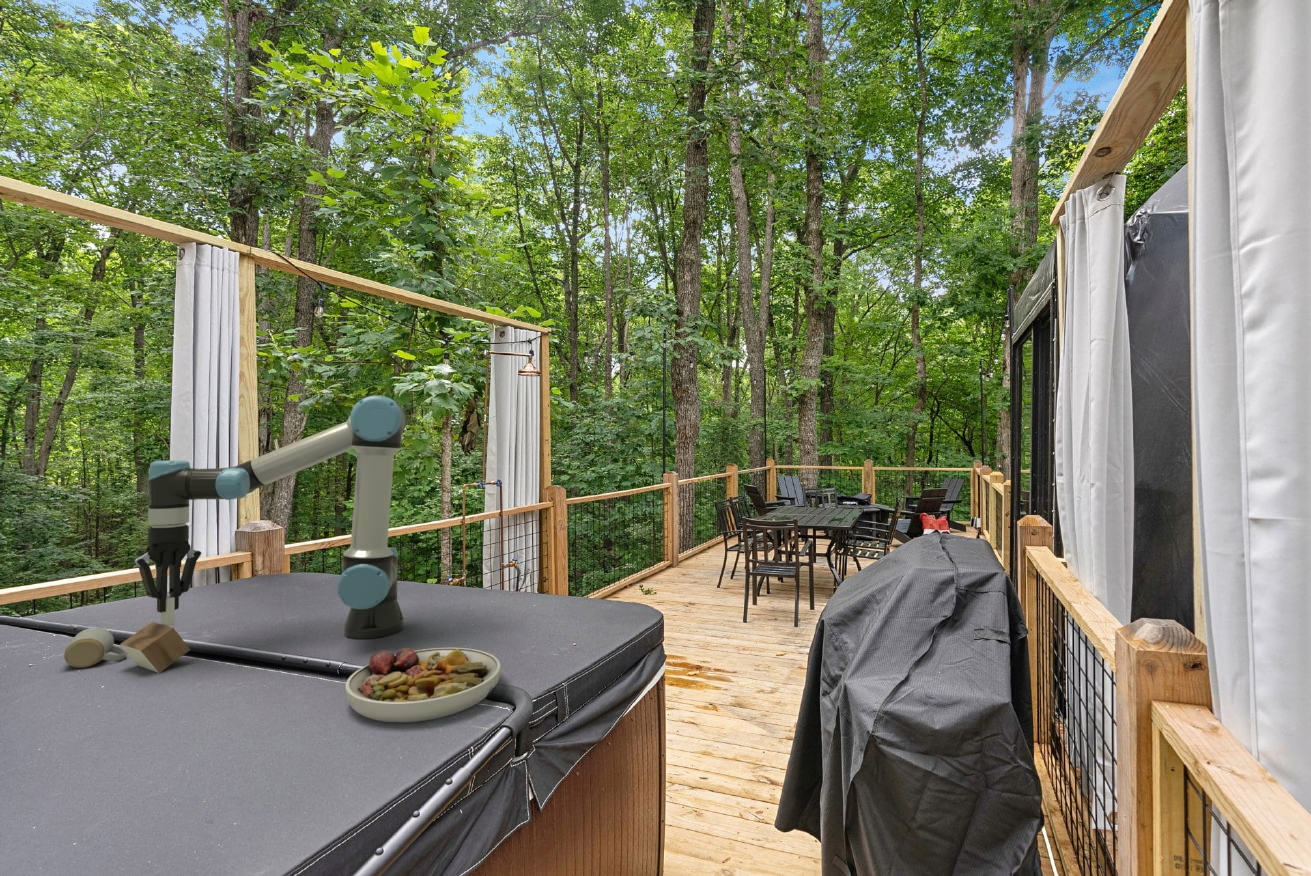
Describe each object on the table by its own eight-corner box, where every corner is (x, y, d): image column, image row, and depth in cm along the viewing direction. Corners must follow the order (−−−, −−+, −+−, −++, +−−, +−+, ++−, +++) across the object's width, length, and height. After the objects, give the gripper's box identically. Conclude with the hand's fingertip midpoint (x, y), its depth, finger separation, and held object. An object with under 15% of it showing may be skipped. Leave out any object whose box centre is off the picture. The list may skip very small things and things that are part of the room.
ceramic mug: (61, 672, 135) (62, 638, 136) (71, 661, 142) (72, 629, 142) (123, 664, 141) (124, 631, 141) (129, 653, 148) (130, 623, 148)
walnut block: (173, 627, 138) (140, 651, 132) (190, 649, 141) (159, 673, 135) (152, 621, 142) (120, 644, 137) (169, 643, 145) (138, 665, 140)
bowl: (527, 678, 133) (527, 643, 133) (436, 741, 105) (437, 696, 105) (418, 662, 143) (418, 629, 143) (309, 716, 115) (309, 675, 115)
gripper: (192, 521, 149) (191, 615, 148) (127, 527, 137) (125, 629, 137) (208, 523, 145) (207, 619, 145) (142, 529, 134) (141, 634, 133)
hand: (167, 624), depth 141 cm, fingers closed
